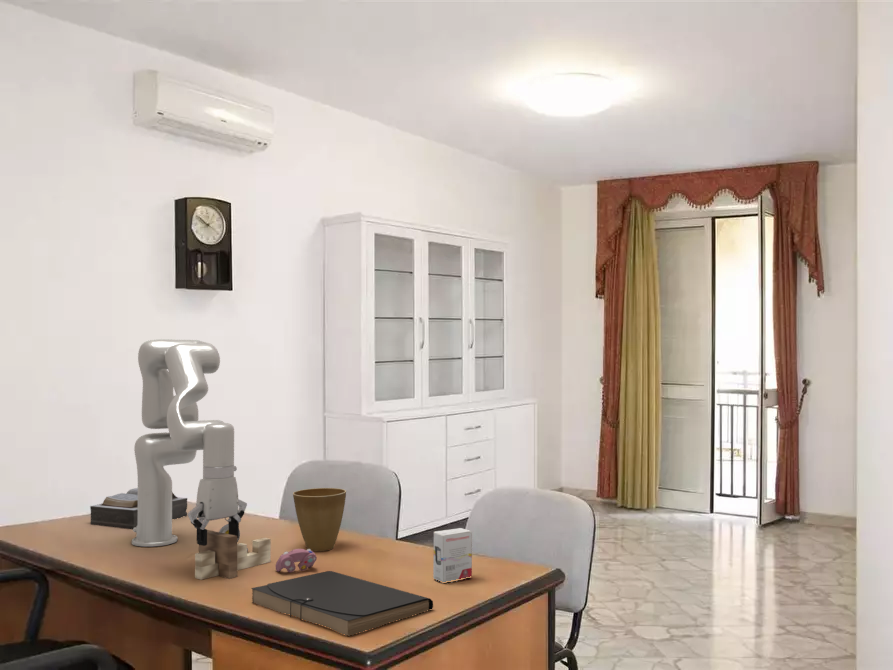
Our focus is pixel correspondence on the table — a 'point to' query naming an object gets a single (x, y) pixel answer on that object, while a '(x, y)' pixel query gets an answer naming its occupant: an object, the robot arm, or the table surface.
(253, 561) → the wooden crenellated block
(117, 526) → the dark grey storage box
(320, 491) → the plant pot
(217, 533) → the walnut plate
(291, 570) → the video game controller
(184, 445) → the robot arm
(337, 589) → the file folder
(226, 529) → the pocket watch
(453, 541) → the ink box
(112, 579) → the table surface
